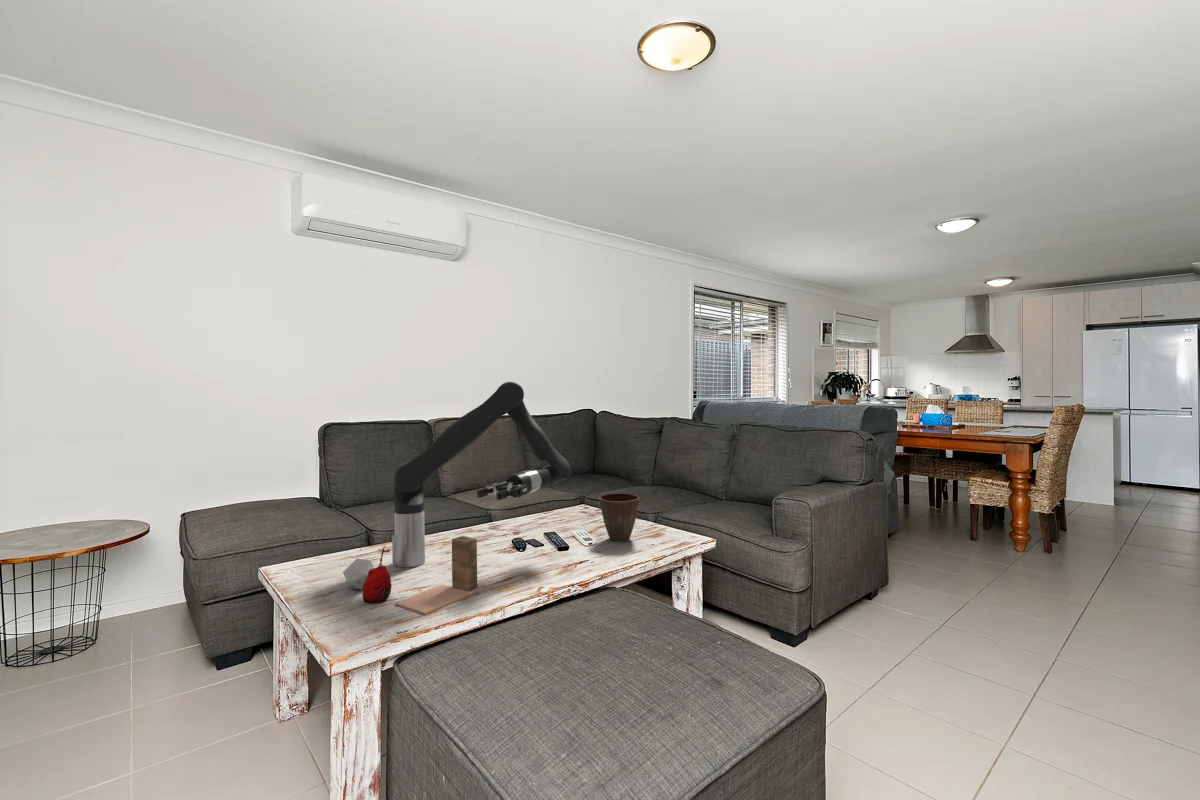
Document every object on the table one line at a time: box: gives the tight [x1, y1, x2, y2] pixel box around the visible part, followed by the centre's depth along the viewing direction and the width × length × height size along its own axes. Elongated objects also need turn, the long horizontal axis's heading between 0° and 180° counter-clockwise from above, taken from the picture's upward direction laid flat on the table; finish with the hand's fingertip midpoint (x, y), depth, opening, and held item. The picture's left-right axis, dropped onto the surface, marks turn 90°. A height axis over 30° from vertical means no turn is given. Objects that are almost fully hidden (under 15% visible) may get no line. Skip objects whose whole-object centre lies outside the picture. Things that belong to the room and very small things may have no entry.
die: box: [342, 558, 375, 591], centre depth 159 cm, size 8×9×10 cm
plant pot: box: [599, 492, 640, 542], centre depth 208 cm, size 15×15×16 cm
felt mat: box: [394, 584, 473, 616], centre depth 150 cm, size 16×12×1 cm
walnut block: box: [451, 535, 478, 592], centre depth 159 cm, size 4×6×14 cm, turn 57°
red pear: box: [361, 545, 392, 604], centre depth 150 cm, size 8×7×15 cm
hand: (487, 495), depth 167 cm, fingers open, 8 cm apart
